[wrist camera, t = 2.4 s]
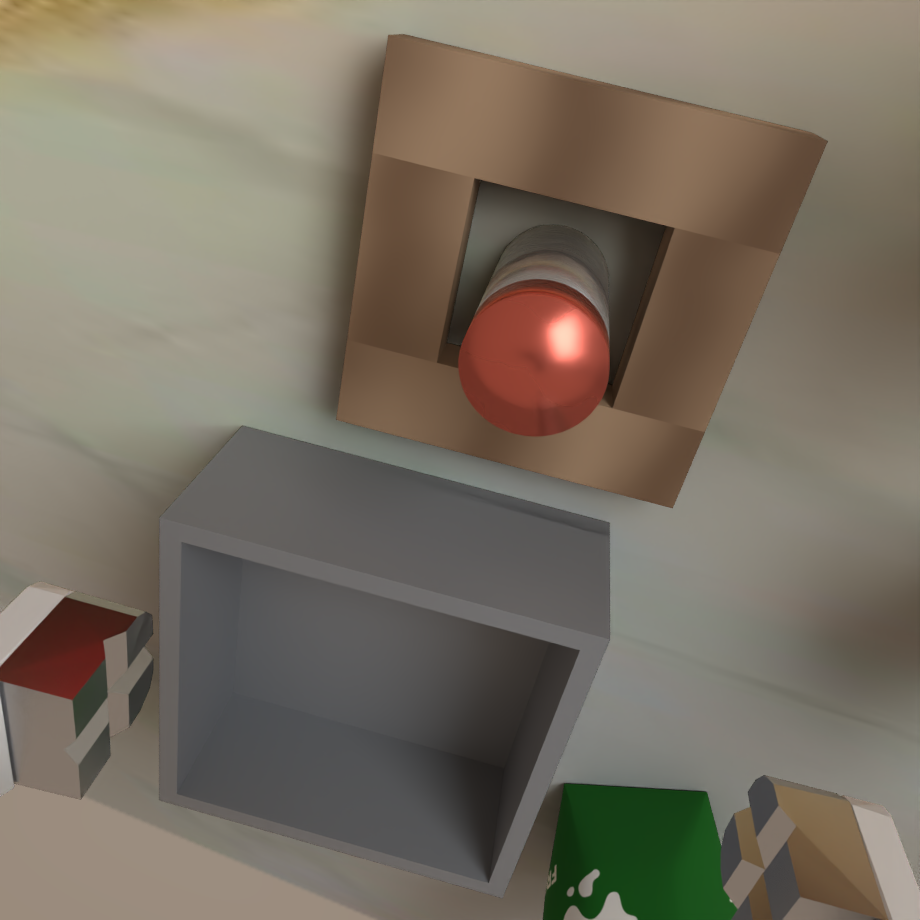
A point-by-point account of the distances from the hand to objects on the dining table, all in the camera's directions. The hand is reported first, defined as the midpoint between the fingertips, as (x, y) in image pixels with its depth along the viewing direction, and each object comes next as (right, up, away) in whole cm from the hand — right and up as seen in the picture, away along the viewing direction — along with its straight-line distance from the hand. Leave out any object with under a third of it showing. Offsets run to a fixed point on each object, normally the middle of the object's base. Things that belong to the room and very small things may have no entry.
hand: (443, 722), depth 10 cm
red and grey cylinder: (+3, +10, +17) cm, 20 cm away
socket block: (+3, +10, +17) cm, 20 cm away
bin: (-3, -4, +26) cm, 26 cm away
